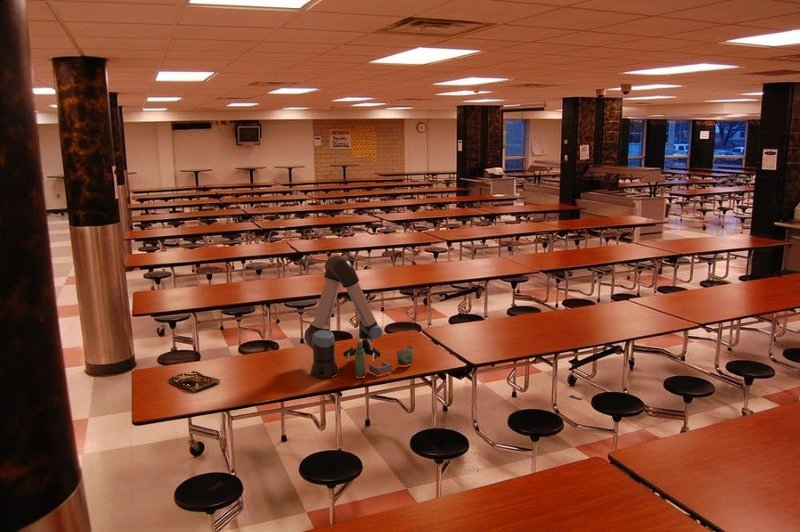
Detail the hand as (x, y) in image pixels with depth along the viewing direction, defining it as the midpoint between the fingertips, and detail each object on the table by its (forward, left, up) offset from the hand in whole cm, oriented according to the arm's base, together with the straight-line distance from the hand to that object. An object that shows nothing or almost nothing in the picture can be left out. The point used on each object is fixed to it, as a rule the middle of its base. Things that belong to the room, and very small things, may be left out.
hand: (360, 359), depth 331 cm
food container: (0, +32, -11) cm, 34 cm away
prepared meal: (-50, -73, -12) cm, 90 cm away
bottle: (-2, +1, -11) cm, 11 cm away
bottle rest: (-1, +13, -11) cm, 17 cm away
